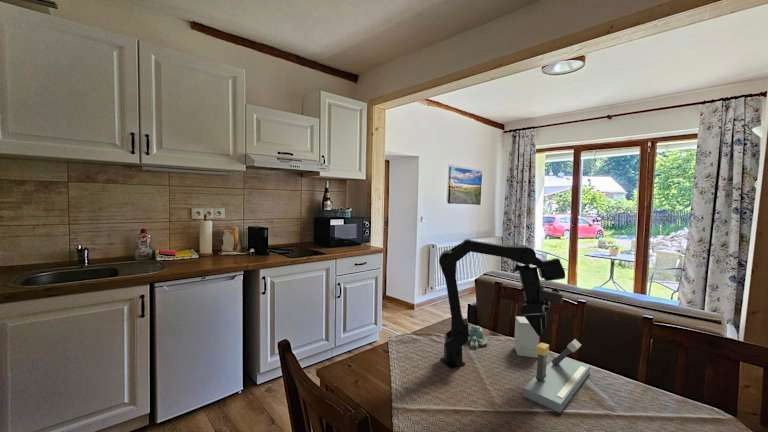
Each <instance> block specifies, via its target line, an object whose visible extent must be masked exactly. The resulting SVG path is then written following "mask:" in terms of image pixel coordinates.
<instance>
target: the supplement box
mask: <svg viewBox="0 0 768 432" xmlns="http://www.w3.org/2000/svg"><path fill="white" fill-rule="evenodd" d="M514 320H515V323H514V339H513V341H514V342H513V348H514V350H515V352H516V354H517V356H519V357H520V356H521V357H528V358H529V357H530V358H537V359H538V354H537V353H536V346H537V345H538V344H539V343H540V336H538V335H537V333H536V332H535V330H534V329H533V327H532V326H531V325H530V323H529V322H528V321H527V319H526V318H525V317H524V316H517V315H515V319H514Z"/></svg>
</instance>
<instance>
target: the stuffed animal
mask: <svg viewBox="0 0 768 432" xmlns="http://www.w3.org/2000/svg"><path fill="white" fill-rule="evenodd" d="M468 327H469V331H470V336H468V342H467V343H466V344H469V346H470V347H471V348H473V347H474V348H478V347H479V346H481V347H484V346H486V345H487V344H488V343H489V339H488V337H486V335H485V333H484V332H483V329H482V327H481V326H479V325H473V324H472V325H470V326H468ZM466 344H465V345H466Z"/></svg>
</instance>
